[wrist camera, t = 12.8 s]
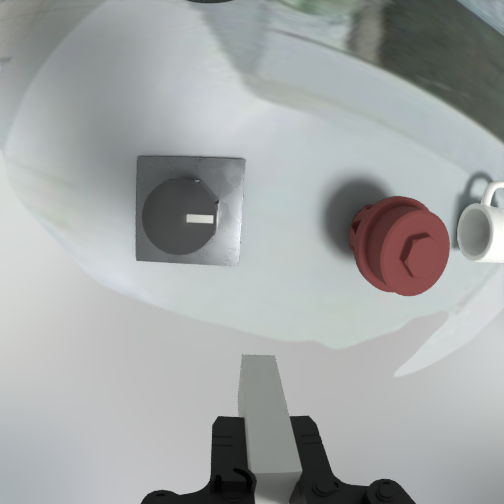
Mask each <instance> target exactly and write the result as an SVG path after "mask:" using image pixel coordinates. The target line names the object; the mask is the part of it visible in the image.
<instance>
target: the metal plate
mask: <svg viewBox="0 0 504 504" xmlns="http://www.w3.org/2000/svg"><path fill="white" fill-rule="evenodd" d="M245 161H246V160H241V159H225V158H203V157H159V156H142V157H138V164H137V187H136V261H150V262H167V263H184V264H202V265H221V266H238V264H239V248H240V233H241V218H242V203H243V189H244V174H245ZM169 179H190V180H200V181H202V182H204V183H205V184H206V185H207V186H208V187H209V188H210V190H211V191H212V192H213V193H214V194H215V195H216V196H217V197H218V200H217V201H218V202H220V203H219V221H218V227H217V231H216V232H215V235H214V236H213V237H212V238H211V239H210V240H209V241H208V242H207V243H206V244H205V245H204V246H203V247H202V248H201V249H199V250H197V251H196V252H193V253H190V254H186V255H172V254H168V253H166V252H163V251H162V250H160V249H158V248H157V247H156V246H155V245H154V244H152V242H151V241H150V240H149V239H148V237H147V235H146V233H145V231H144V228H143V223H142V210H143V206H144V203H145V201H146V199H147V197H148V196H149V194H150V193H151V192H152V191H153V190H154V189H155V188H156V187H157V186H159V185H160V184H162V183H163V182H164V181H165V180H169Z"/></svg>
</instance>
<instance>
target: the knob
mask: <svg viewBox="0 0 504 504" xmlns="http://www.w3.org/2000/svg"><path fill="white" fill-rule="evenodd" d="M217 200H218V197H217V196H216V195H215V194H214V193H213V192H212V191H211V190H210V188H209V187H208V186H207V185H206V184H205V183H204V182H202V181H200V180H190V179H169V180H165V181H164V182H163V183H162V184H160V185H159V186H157V187H156V188H155V189H154V190H153V191H152V192H151V193H150V194H149V196H148V197H147V199H146V201H145V203H144V206H143V210H142V223H143V228H144V231H145V233H146V235H147V237H148V239H149V240H150V241H151V242H152V244H154V245H155V246H156V247H157V248H158V249H160V250H162V251H163V252H166V253H168V254H172V255H186V254H190V253H193V252H196V251H197V250H199V249H201V248H202V247H203V246H204V245H205V244H206V243H207V242H208V241H209V240H210V239H211V238H212V237H213V236H214V235H215V232H216V231H217V227H218V221H219V203H220V202H218V201H217Z"/></svg>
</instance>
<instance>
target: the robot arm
mask: <svg viewBox="0 0 504 504" xmlns="http://www.w3.org/2000/svg"><path fill="white" fill-rule="evenodd" d="M189 1H194V2H203V3H216V2H225V1H231V0H189ZM238 411H239V417H224V416H218V417H217V419H216V421H215V422H214V424H213V425H212V450H211V476H210V481H209V483H208V484H207V485H206V486H205V487H204V488H203V489H201V490H199V491H197V492H194V493H189V494H183V495H178V494H176V493H174V492H172V491H167V490H158V491H153V492H151V493H149V494H147V496H146V497H145V498H144V499H143V501H142V502H141V504H416V503H415V502H414V501H413V500H412V499H411V497H410V496H409V495H408V494H407V493H406V492H405V491H404V489H403V488H402V487H401V486H400V485H399V484H398V483H397V482H395V481H393V480H390V479H380V480H376V481H374V482H373V483H372V484H370V486H359V485H350V484H346V483H343V482H341V481H340V480H339V479H338V478H336V477H335V476H334V475H333V473H332V470H331V467H330V464H329V461H328V458H327V455H326V452H325V449H324V446H323V444H322V440H321V437H320V435H319V431H318V428H317V425H316V423H315V422H314V421H313V420H312V419H311V418H310V417H309V416H289V413H288V409H287V405H286V400H285V396H284V392H283V388H282V384H281V379H280V375H279V371H278V367H277V363H276V359H275V356H271V355H243V354H242V360H241V370H240V381H239V391H238Z"/></svg>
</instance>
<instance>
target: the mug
mask: <svg viewBox="0 0 504 504" xmlns="http://www.w3.org/2000/svg"><path fill="white" fill-rule="evenodd" d="M499 187H501V188H503V189H504V181H493V182H491V183H490V184H489V185H488V186H487V187H486V188H485V190H484V193H483V196H482V200H481V203H480V204H479V203H474V204H471V205H469V206H468V207H467V208H466V209H465V210H464V211H463V212H462V214H461V216H460V219H459V222H458V227H457V240H458V245H459V248H460V250H461V252H462V254H463V255H464V256H465V258H467V259H468V260H470V261H473V262H496V263H504V209H501V208H497V207H492V206H490V203H491V199H492V195H493V193H494V191H495V190H496V189H497V188H499Z"/></svg>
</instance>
